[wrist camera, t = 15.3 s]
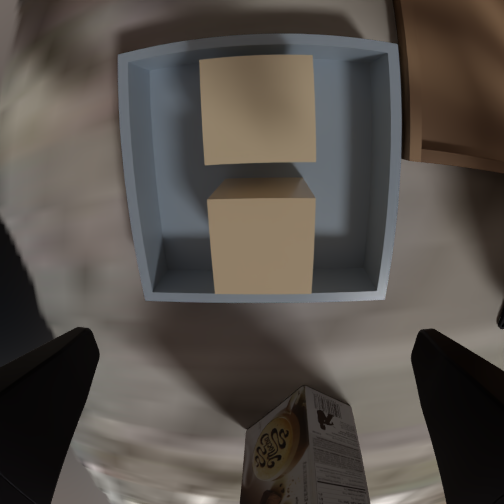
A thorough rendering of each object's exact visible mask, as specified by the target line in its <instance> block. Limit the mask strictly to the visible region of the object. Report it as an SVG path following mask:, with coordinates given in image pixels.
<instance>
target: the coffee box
mask: <svg viewBox="0 0 504 504" xmlns="http://www.w3.org/2000/svg"><path fill="white" fill-rule="evenodd" d="M240 504H370V499H369V493H368V487H367V482H366V477H365V471H364V466H363V461H362V455H361V450H360V446H359V441H358V436H357V431H356V426H355V422H354V417H353V412H352V408H351V406H349V405H346V404H344V403H342V402H340V401H337V400H335V399H333V398H331V397H329V396H327V395H324V394H322V393H320V392H318V391H316V390H314V389H312V388H310V387H307V386H302V387H301V388H300V389H298V390H297V391H296V392H295V393H294V394H292V395H291V396H290V397H289V398H288V399H286V400H285V401H284V402H283V403H281V404H280V405H279V406H278V407H276V408H275V409H274V410H273V411H271V412H270V413H269V414H268V415H266V416H265V417H264V418H263V419H261V420H260V421H259V422H257V423H256V424H255V425H253V426H252V427H251V428H249V429H248V430H247V431H246V438H245V451H244V462H243V474H242V486H241V496H240Z"/></svg>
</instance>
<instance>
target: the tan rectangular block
mask: <svg viewBox="0 0 504 504" xmlns="http://www.w3.org/2000/svg"><path fill="white" fill-rule="evenodd" d="M199 66H200V91H201V112H202V131H203V147H204V162H205V165H219V164H240V163H273V162H316V120H315V91H314V70H313V55H251V56H235V57H222V58H212V59H203V60H199Z"/></svg>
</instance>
